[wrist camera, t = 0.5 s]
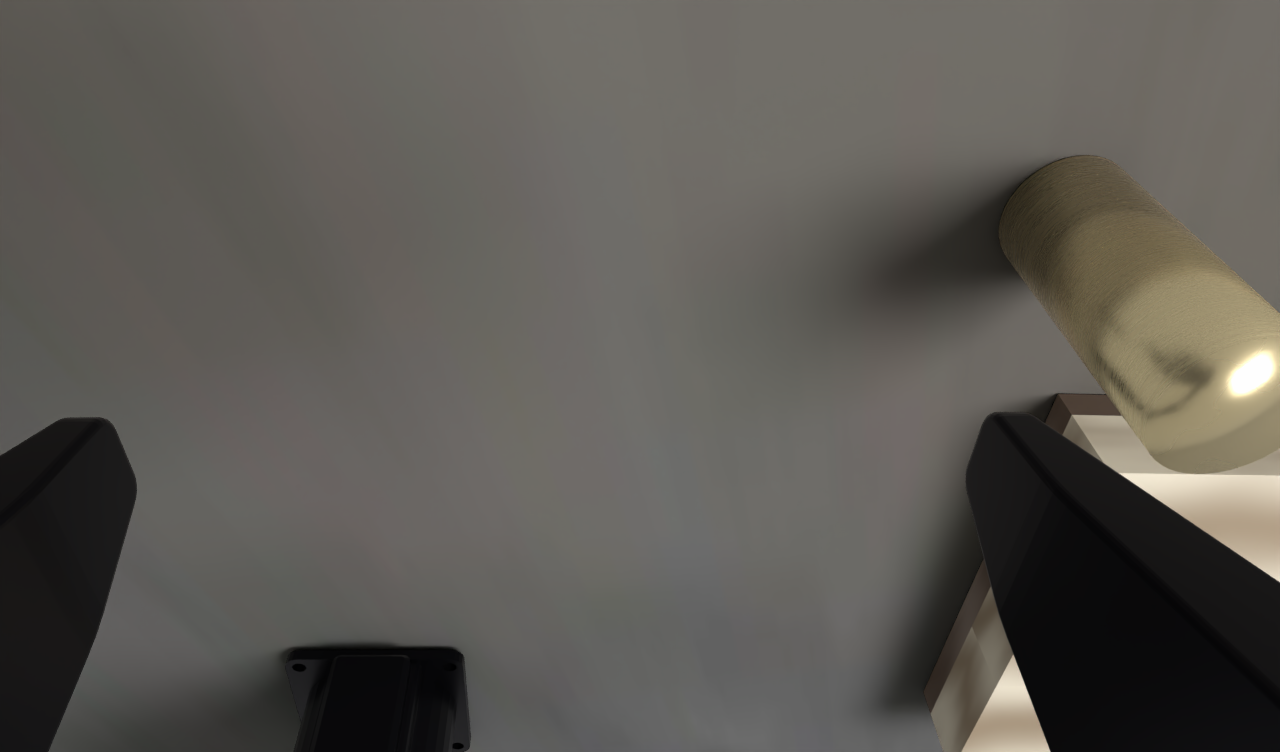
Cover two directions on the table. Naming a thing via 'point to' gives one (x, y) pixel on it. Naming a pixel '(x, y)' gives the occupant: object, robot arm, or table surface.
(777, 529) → the table surface
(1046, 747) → the jig plate
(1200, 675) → the robot arm
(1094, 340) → the brass pin
